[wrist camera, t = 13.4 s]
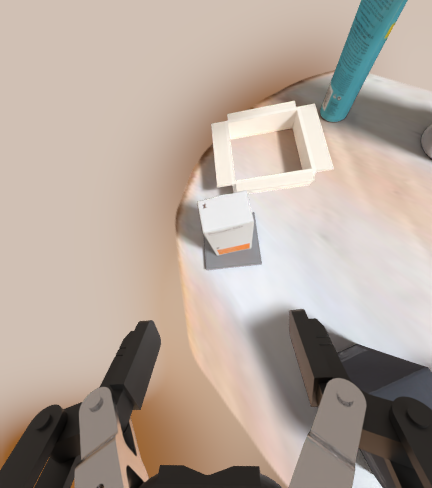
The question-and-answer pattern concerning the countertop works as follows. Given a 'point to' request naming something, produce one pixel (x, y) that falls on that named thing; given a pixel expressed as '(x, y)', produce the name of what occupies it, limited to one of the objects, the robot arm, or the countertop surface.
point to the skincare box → (227, 222)
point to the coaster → (234, 255)
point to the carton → (266, 121)
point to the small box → (386, 388)
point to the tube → (359, 54)
